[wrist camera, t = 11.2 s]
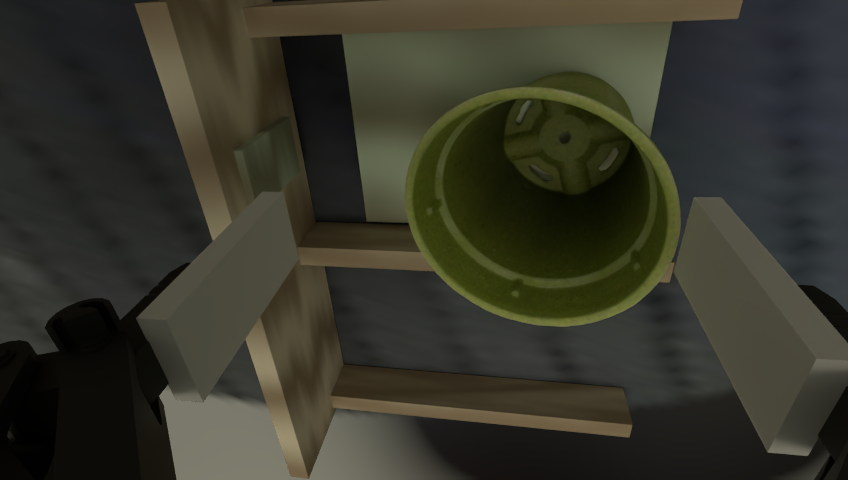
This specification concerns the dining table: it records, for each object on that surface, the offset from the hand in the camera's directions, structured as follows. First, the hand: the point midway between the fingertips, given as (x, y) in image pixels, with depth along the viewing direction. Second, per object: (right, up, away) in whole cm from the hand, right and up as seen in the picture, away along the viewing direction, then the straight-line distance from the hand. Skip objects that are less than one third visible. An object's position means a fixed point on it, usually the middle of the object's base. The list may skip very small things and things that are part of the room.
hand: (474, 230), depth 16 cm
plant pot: (+5, +5, +8) cm, 10 cm away
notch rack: (+1, 0, +12) cm, 12 cm away
